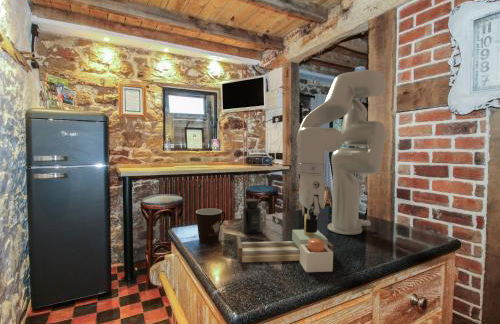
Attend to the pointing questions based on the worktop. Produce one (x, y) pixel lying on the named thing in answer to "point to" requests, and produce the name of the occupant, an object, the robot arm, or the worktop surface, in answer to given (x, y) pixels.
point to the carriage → (306, 236)
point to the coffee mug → (209, 225)
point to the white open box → (316, 259)
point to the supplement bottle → (251, 217)
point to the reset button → (315, 245)
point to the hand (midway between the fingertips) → (309, 229)
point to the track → (269, 251)
